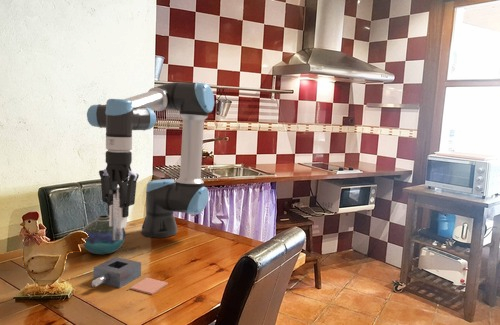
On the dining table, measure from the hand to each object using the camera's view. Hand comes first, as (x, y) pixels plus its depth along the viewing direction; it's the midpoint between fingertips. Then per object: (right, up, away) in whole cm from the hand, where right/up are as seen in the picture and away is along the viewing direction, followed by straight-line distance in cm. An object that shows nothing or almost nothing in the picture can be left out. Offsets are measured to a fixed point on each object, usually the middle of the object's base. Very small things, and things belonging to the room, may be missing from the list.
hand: (118, 226), depth 121 cm
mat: (+10, -18, -2) cm, 21 cm away
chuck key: (0, -4, 0) cm, 4 cm away
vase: (-14, -14, +25) cm, 31 cm away
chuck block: (-2, -17, 0) cm, 17 cm away
